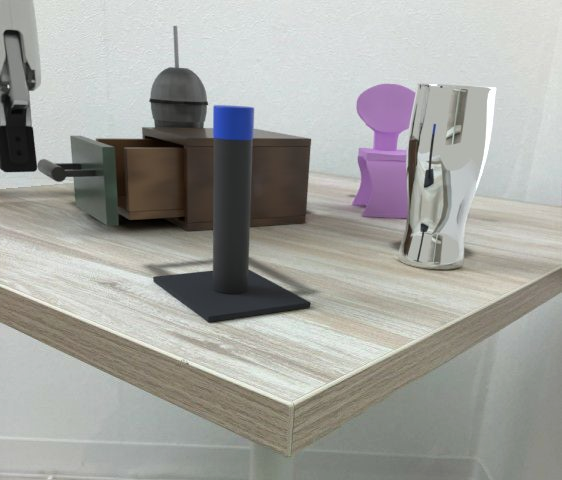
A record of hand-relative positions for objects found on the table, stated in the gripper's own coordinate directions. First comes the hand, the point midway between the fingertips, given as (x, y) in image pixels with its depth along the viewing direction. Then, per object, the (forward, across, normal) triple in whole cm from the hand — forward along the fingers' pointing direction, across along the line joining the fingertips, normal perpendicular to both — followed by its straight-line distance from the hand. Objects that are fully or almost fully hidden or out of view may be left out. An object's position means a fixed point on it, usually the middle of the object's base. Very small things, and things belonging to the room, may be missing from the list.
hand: (18, 170), depth 62 cm
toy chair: (+6, +2, +43) cm, 44 cm away
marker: (+6, +27, +9) cm, 29 cm away
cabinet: (+6, 0, +22) cm, 23 cm away
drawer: (+5, 0, +11) cm, 12 cm away
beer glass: (+6, +24, +31) cm, 40 cm away
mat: (+6, +27, +9) cm, 29 cm away
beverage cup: (+6, -13, +22) cm, 26 cm away
